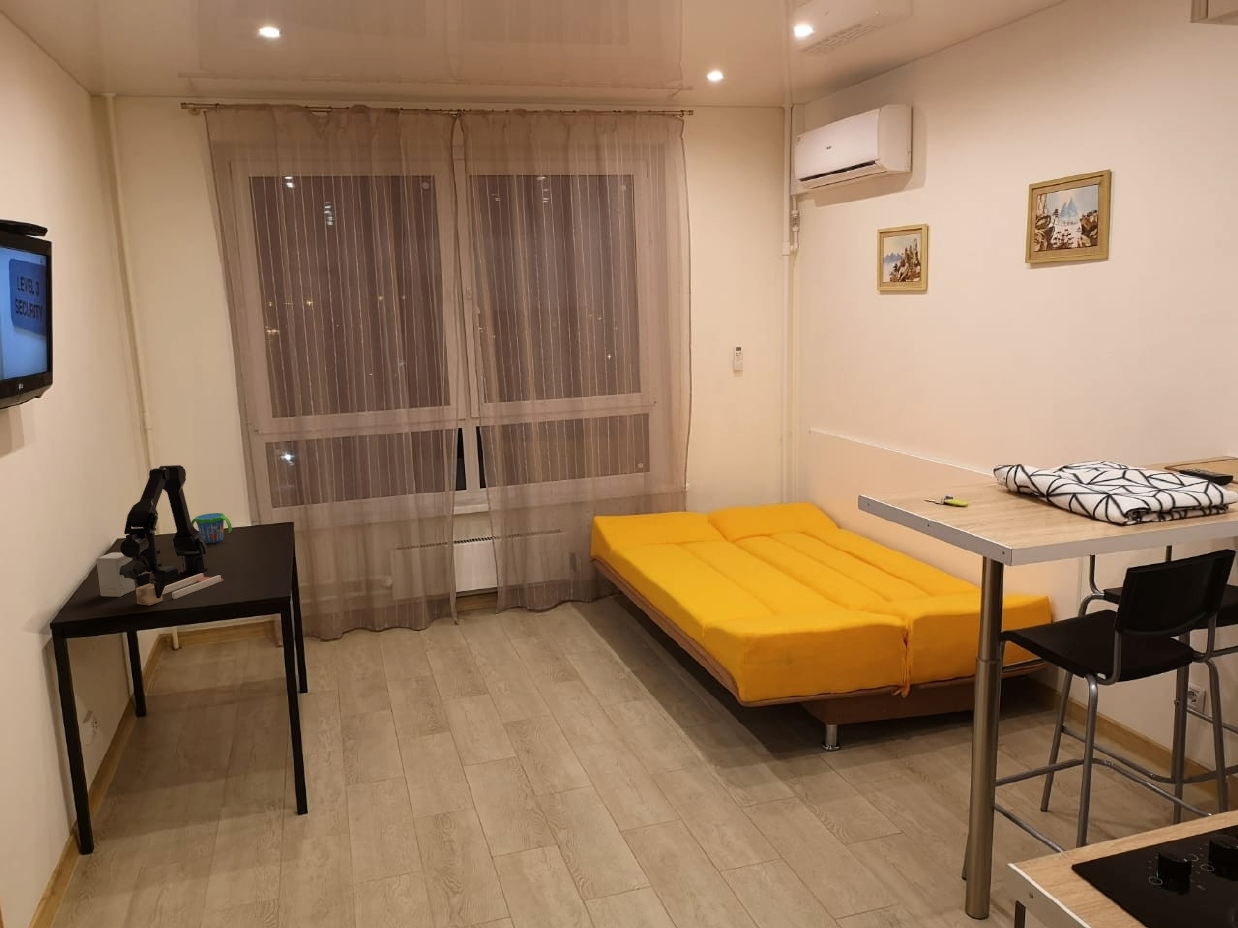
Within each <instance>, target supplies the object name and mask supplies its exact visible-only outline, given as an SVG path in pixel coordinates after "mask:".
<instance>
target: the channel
mask: <svg viewBox="0 0 1238 928" xmlns="http://www.w3.org/2000/svg"><path fill="white" fill-rule="evenodd" d="M223 581H225V580H224V578H222V576H221V575H220V574H219V575H215V576H213V577H212V576H211V577H210V576H209V577H208V576H205V575H204V573H202V572H199V573H197V574H194V575H193V576H190V577H187V578H185V579H181V580H179V581H175V582H173V583H171V584H167V585H165V587H164V590H163V593H162V596H163V595H166V594H168V593H171V596H172V597H171V598H172V599H173V600H176V599H179V598H181V597H184V596H186V595H189V594H193V592H197V591H200V590H202V589H205V588H208V587H210V586H213V585H215V584H218V583H221V582H223Z"/></svg>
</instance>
